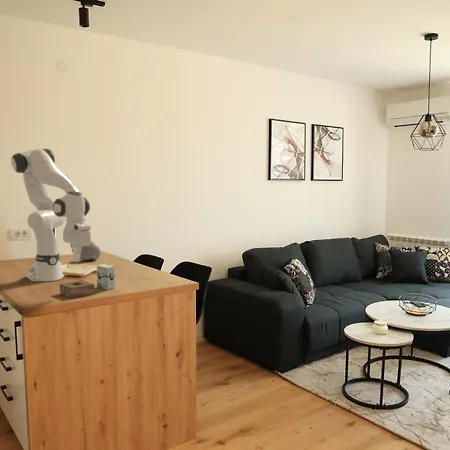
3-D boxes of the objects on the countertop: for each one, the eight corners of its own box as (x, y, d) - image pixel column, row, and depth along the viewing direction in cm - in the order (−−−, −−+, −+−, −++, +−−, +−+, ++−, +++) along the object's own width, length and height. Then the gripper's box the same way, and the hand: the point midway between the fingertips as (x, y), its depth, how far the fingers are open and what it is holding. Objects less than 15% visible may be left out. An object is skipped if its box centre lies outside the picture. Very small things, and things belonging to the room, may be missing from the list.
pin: (72, 261, 226) (71, 241, 225) (78, 260, 228) (77, 240, 227) (75, 262, 224) (75, 241, 223) (81, 261, 226) (81, 241, 225)
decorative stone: (99, 258, 321) (98, 237, 319) (102, 261, 312) (101, 239, 310) (76, 260, 314) (76, 238, 312) (79, 263, 305) (78, 240, 303)
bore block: (59, 293, 227) (59, 283, 227) (81, 289, 236) (81, 280, 236) (72, 298, 219) (72, 288, 219) (94, 294, 228) (94, 284, 228)
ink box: (96, 287, 241) (96, 265, 240) (103, 285, 245) (103, 263, 244) (108, 290, 237) (107, 267, 235) (115, 288, 241) (115, 265, 239)
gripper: (59, 223, 229) (60, 251, 230) (80, 227, 215) (81, 256, 216) (71, 222, 233) (71, 249, 235) (92, 226, 220) (93, 254, 221)
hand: (76, 253), depth 226 cm, fingers closed on pin, 3 cm apart
